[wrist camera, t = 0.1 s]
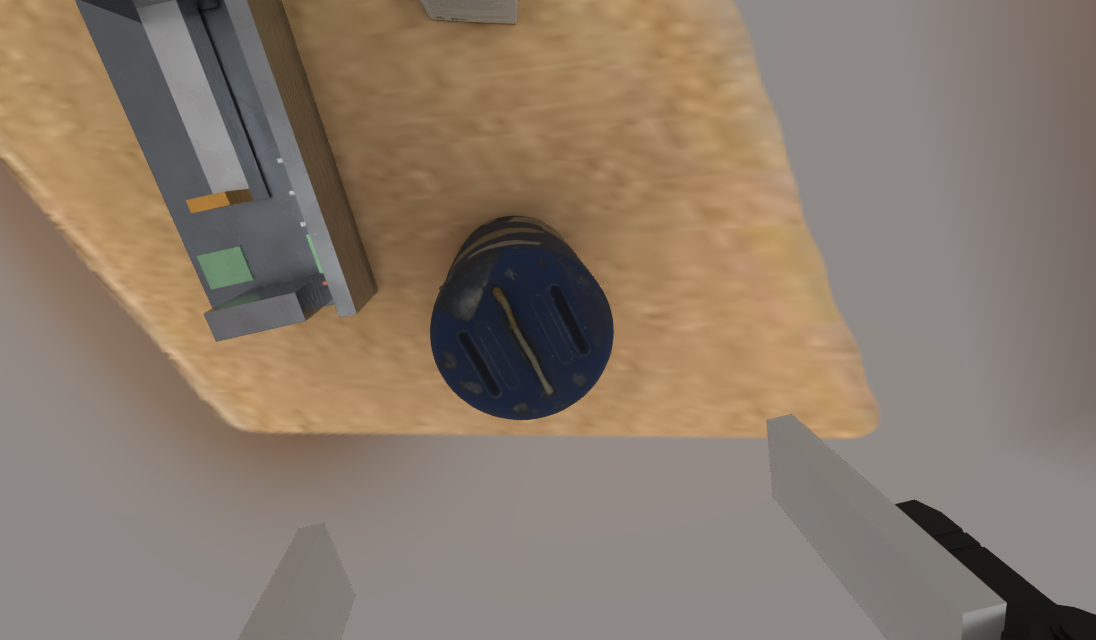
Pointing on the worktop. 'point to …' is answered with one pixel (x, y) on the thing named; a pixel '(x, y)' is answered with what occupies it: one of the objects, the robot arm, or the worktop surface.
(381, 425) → the worktop surface
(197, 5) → the capped sliding bar
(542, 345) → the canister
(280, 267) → the rail
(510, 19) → the skincare box
